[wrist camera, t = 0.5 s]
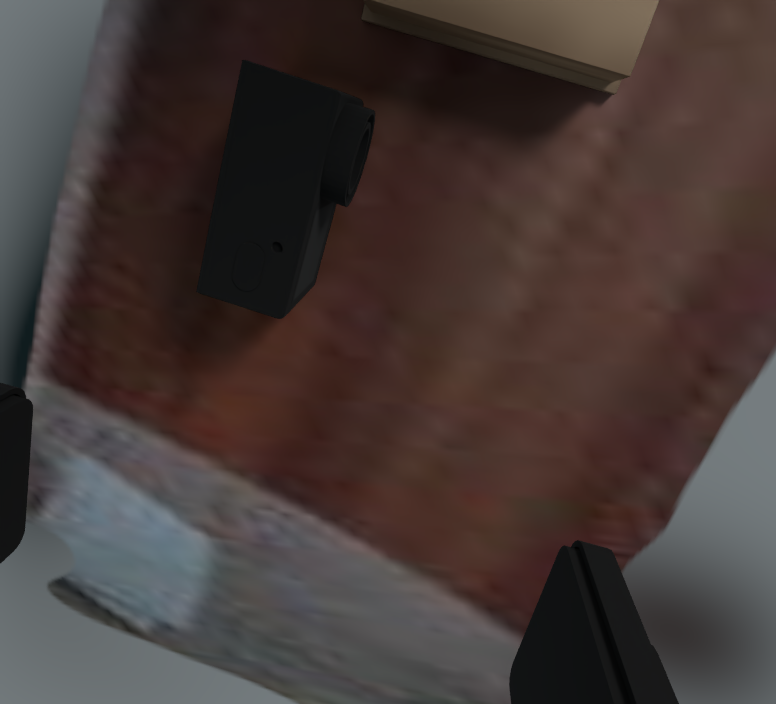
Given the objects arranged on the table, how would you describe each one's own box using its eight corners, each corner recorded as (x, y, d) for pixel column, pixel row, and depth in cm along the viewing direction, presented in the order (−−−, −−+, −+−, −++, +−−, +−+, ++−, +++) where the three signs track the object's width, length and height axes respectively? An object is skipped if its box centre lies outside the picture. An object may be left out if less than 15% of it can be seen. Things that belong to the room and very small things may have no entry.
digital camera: (333, 294, 35) (305, 331, 29) (242, 265, 35) (194, 295, 29) (386, 107, 32) (368, 100, 25) (285, 74, 32) (241, 58, 25)
